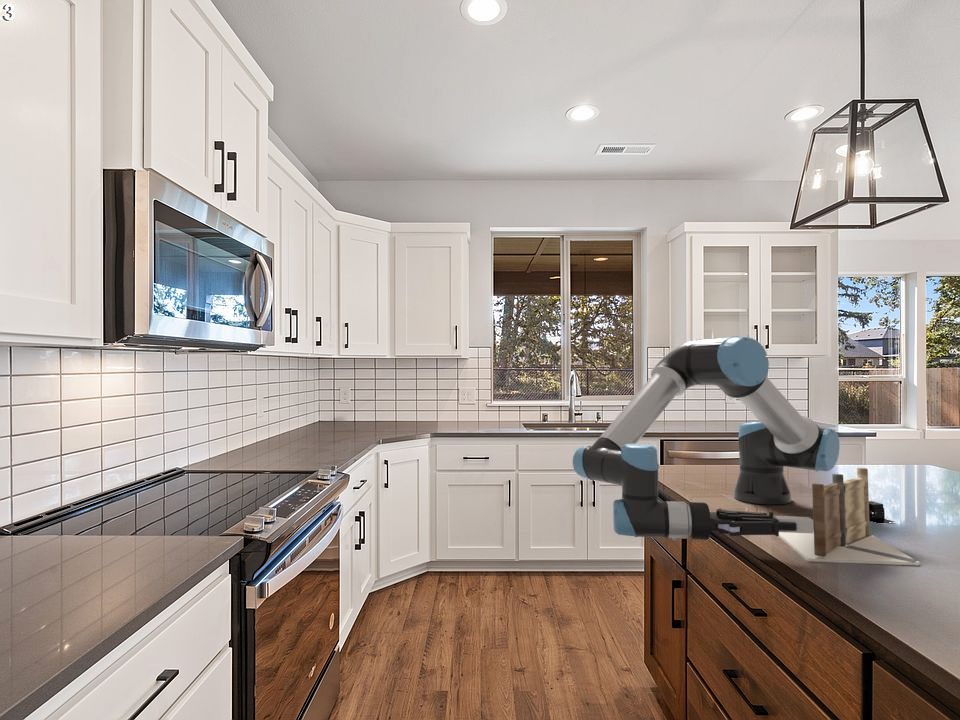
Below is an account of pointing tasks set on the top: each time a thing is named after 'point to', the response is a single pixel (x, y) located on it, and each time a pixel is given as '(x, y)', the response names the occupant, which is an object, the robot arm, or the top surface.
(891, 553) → the card
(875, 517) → the black blocky piece
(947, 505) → the top surface
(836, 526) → the panel
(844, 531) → the fixed fence section
